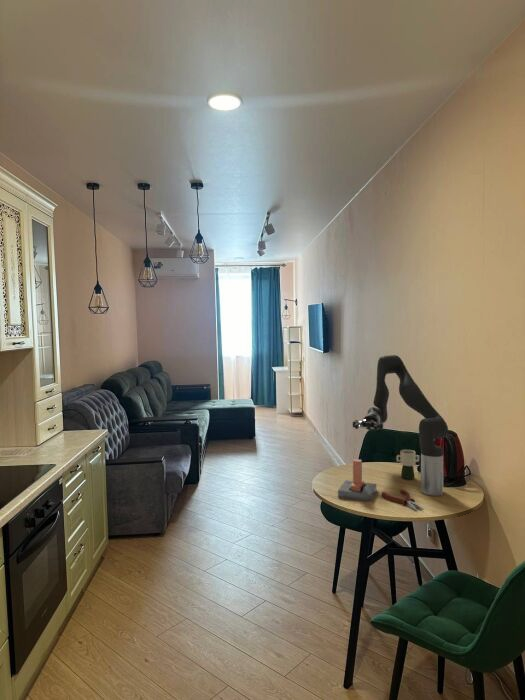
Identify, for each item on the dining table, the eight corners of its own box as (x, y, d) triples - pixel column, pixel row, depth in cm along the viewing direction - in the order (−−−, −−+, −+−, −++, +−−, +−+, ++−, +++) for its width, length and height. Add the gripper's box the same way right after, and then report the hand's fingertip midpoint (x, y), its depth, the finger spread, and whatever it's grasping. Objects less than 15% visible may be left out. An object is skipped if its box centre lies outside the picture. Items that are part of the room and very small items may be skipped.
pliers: (408, 515, 181) (408, 508, 181) (380, 497, 200) (380, 491, 200) (432, 511, 185) (432, 504, 185) (402, 494, 204) (402, 488, 204)
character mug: (417, 475, 227) (417, 449, 226) (421, 480, 220) (421, 453, 219) (394, 475, 227) (394, 449, 227) (398, 480, 220) (398, 453, 219)
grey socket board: (376, 490, 207) (376, 484, 207) (370, 501, 194) (370, 494, 194) (345, 486, 213) (345, 480, 212) (338, 497, 200) (338, 490, 200)
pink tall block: (364, 490, 207) (363, 458, 206) (359, 497, 198) (359, 463, 198) (355, 489, 208) (355, 457, 208) (350, 496, 200) (350, 462, 199)
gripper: (357, 412, 235) (350, 418, 220) (386, 414, 229) (380, 420, 214) (357, 427, 235) (350, 434, 221) (386, 429, 230) (380, 436, 215)
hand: (365, 427), depth 218 cm, fingers open, 8 cm apart
